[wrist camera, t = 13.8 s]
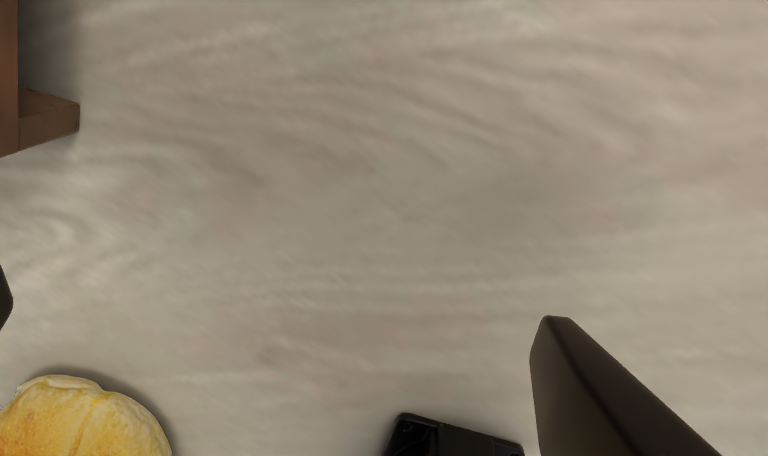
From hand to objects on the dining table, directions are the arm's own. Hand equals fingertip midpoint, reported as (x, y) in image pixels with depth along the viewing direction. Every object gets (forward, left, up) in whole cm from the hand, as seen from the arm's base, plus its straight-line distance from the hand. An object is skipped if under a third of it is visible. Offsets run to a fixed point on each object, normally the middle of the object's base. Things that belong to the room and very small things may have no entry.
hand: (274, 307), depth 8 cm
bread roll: (-19, +9, -12) cm, 25 cm away
